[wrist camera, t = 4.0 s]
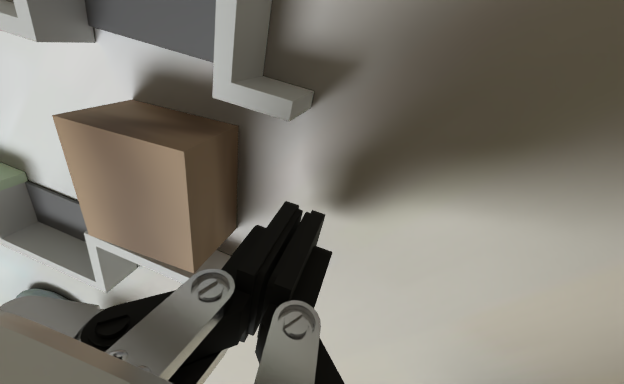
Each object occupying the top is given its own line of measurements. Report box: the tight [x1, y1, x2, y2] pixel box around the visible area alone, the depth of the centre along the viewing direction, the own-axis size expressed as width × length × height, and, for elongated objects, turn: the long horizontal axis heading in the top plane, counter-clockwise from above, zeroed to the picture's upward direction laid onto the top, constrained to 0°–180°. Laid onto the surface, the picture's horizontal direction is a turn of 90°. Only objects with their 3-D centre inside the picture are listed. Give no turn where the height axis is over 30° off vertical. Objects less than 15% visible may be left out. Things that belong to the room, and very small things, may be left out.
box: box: [0, 0, 314, 293], centre depth 15 cm, size 28×20×4 cm
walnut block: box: [52, 100, 239, 273], centre depth 14 cm, size 6×6×4 cm
